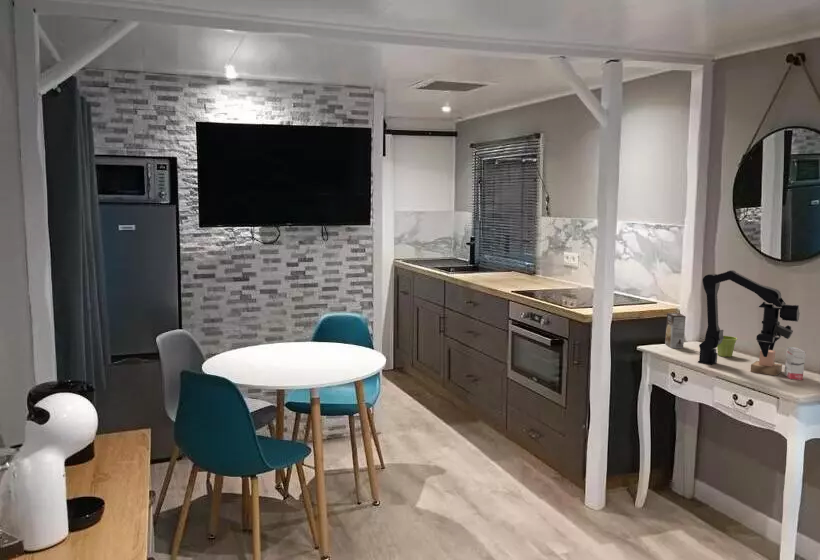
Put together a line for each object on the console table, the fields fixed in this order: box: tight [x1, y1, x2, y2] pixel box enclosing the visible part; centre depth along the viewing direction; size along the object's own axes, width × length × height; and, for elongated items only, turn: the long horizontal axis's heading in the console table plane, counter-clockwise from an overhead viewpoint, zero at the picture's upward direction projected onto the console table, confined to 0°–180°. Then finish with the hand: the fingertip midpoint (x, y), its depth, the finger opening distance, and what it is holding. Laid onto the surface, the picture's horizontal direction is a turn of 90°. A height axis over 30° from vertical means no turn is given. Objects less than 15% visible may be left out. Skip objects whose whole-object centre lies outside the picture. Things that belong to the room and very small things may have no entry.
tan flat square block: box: [750, 360, 783, 377], centre depth 301 cm, size 10×10×3 cm
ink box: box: [783, 346, 807, 381], centre depth 291 cm, size 9×5×12 cm, turn 168°
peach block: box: [758, 349, 776, 367], centre depth 300 cm, size 5×5×6 cm
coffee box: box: [664, 312, 686, 349], centre depth 349 cm, size 9×6×16 cm
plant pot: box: [716, 335, 738, 358], centre depth 331 cm, size 9×9×9 cm
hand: (767, 355), depth 300 cm, fingers open, 9 cm apart
